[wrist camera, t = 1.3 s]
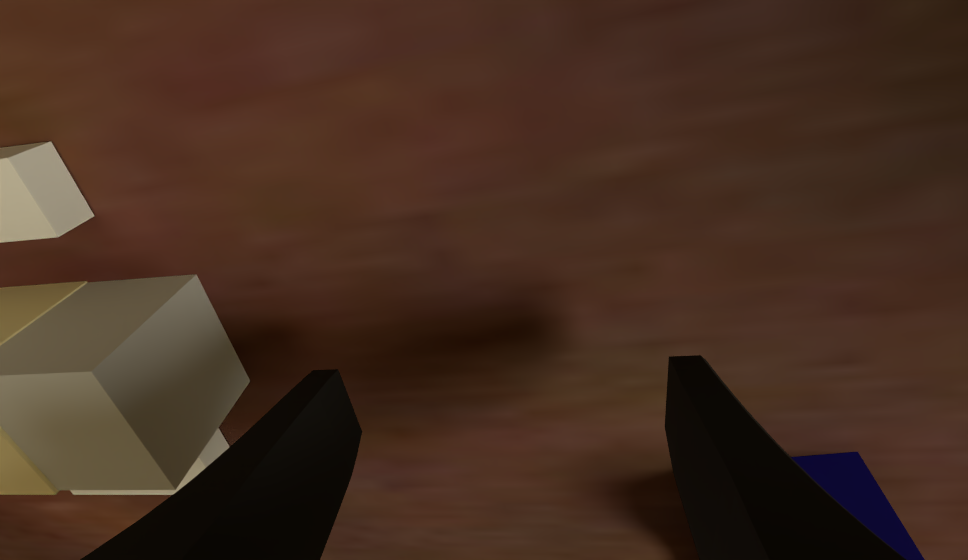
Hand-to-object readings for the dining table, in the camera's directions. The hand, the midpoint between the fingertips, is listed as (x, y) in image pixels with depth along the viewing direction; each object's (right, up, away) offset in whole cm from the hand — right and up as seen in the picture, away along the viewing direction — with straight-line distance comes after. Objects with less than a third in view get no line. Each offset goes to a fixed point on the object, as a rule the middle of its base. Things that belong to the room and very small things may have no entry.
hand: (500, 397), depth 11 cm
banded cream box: (-13, +1, +5) cm, 14 cm away
